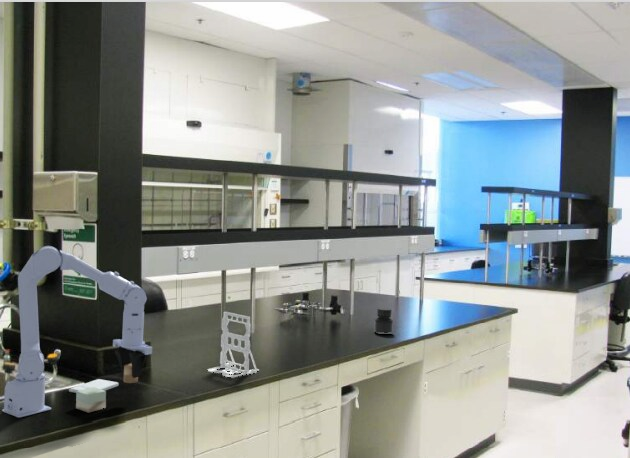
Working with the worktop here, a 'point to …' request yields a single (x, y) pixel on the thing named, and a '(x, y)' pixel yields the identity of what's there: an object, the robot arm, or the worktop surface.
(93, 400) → the slab upper
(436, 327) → the worktop surface
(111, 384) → the external hard drive
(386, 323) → the ink bottle
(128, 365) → the beech cylinder
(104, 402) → the slab lower
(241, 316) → the grey upright openwork frame
